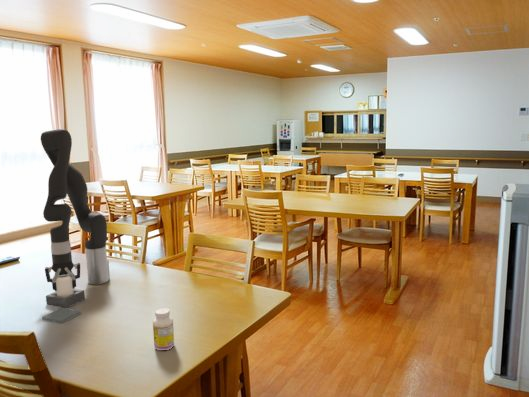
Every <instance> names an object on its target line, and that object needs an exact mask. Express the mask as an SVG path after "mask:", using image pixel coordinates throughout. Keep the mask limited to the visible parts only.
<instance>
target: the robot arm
mask: <svg viewBox="0 0 529 397" xmlns="http://www.w3.org/2000/svg"><path fill="white" fill-rule="evenodd" d="M40 143H41V146H42V148H43V150H44V152H45V154H46V155H47V156H48V159H49V160H50V162H51V163H52V166H53V167H52V169H51V172H50V174H49V177H48V183H47V184H48V185H47V186H48V188H47V189H48V190H47V191H48V193H47V198H46V201H45V202H46V203H45V206H44V208H43V214H42V215H43V218H44V220H45V221H47V222H51V223H52V222H62V223H61V224H60V225H57V226H54V227H51V228H50V230H49V232H50V233H49V234H50V250H51V252H50V253H51V259H52V266H49V267H48V266H45V268H44V272H45V278H46V281H47V283H51V284H52V290H53V291H54V292H56V291H57V289H56V279H57V277H58V275H59V276H61V275H67V274H69V276H70V277H71V278H72V284H73V289H76V287H77V279H80V277H81V263H80V262H78V263H73V256H72V247H71V246H72V245H71V241H70V233H69V232H70V231H69V229H70V221H71V217H72V213H73V212H72V211H73V210H74V213H75V216H76V220H77V223H78V225H79V226H80V229H81V230H82V231H83V232H85V233H90V239H88V240H86V241H84V250H85V259H86V270H87V272H86V273H87V282H88V284H89V285H96V286H97V285H103V284H105V283H106V284H107V282H108V281H109V280H111V278H110V277H111V275H110V274H111V273H110V265H109V263H110V262H109V259H108V257H107V240H108V226H107V224H108V223H107V218H106V216H104V215H103V214H101V213H93V212H92V210H91V209H90V206H89V204H88V202H87V201H88V200H87V199H88V186H87V182H86V181H85V178H84V176H83V174H82V173H81V172H80V171H79V169H77V168H76V167H75V166H74V165H72V164H71V163H70V159H71V151H72V144H73V143H72V135H71V134H70V132H69V130H67V129H65V128H59V129H58V128H57V129H53V130H52V129H51V130H48V131H47V130H46V131H43V132H42V133H41V135H40ZM67 197H68V199H69V201H70V204H71V205H72V207H71V206H70V205H69V204H68V203H59V204H58V203H57V204H56V202H57V201H60V200H64V199H66V198H67ZM72 208H73V210H72ZM73 268H75V270H76V275H75V273H73ZM51 271H53V272H54V275H53V277H51V274H50V273H51Z"/></svg>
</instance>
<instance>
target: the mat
mask: <svg viewBox="0 0 529 397" xmlns="http://www.w3.org/2000/svg"><path fill="white" fill-rule="evenodd" d="M80 314H82V311H81V310H78V309H72V308H69V307H68V308H62V307H59V308H58V309H55V310H53V311H51V312H50V313H47V314H45V315H42V316H41V320H43V321H48V322H53V323H57V324H64V323H65V322H67V321H69V320H71V319H73V318H75V317H76V316H78V315H80Z"/></svg>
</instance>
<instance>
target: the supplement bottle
mask: <svg viewBox="0 0 529 397" xmlns="http://www.w3.org/2000/svg"><path fill="white" fill-rule="evenodd" d="M170 312H171V311H170V309H169V308H165V307H163V308H159V309H157V310H155V313H154V314H155V318H154V319H153V320H152V329H153V344H154V349H155V350H156V349H157V351H158V350H167V351H169V349H170V350H172V349H173V348H174V347H175V332H174V330H175V328H174V318H173V317H172V316H170V315H171V313H170ZM173 346H174V347H173ZM172 347H173V348H172ZM171 348H172V349H171Z"/></svg>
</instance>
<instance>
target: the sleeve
mask: <svg viewBox="0 0 529 397" xmlns="http://www.w3.org/2000/svg"><path fill="white" fill-rule="evenodd" d="M73 292H74V293H73V294H71V295H69V296H67V297H60V296H57V291H53V292H52V293H49V294H47V295H45V301H46V305H47V306H51V307H58V308H68V309H69V308H70V307H72V306H73V305H76V304H77V303H79V302H81V301H83V300H86V296H85V289H78V288H74V289H73Z"/></svg>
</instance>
